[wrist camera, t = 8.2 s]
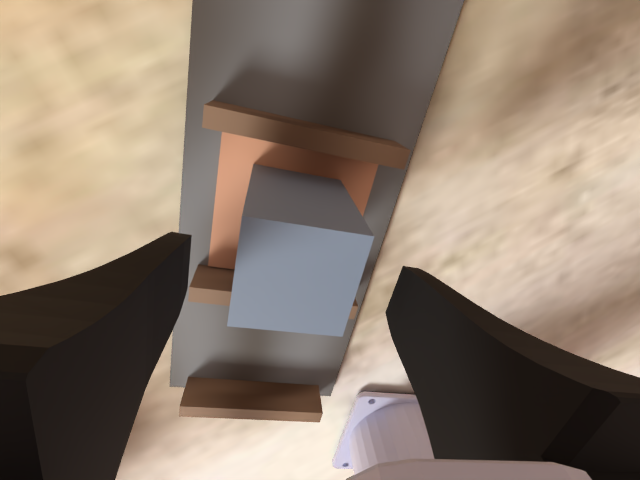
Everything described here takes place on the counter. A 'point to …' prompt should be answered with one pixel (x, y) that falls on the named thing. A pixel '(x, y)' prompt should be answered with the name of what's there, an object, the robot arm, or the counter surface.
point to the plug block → (297, 254)
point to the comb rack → (290, 169)
